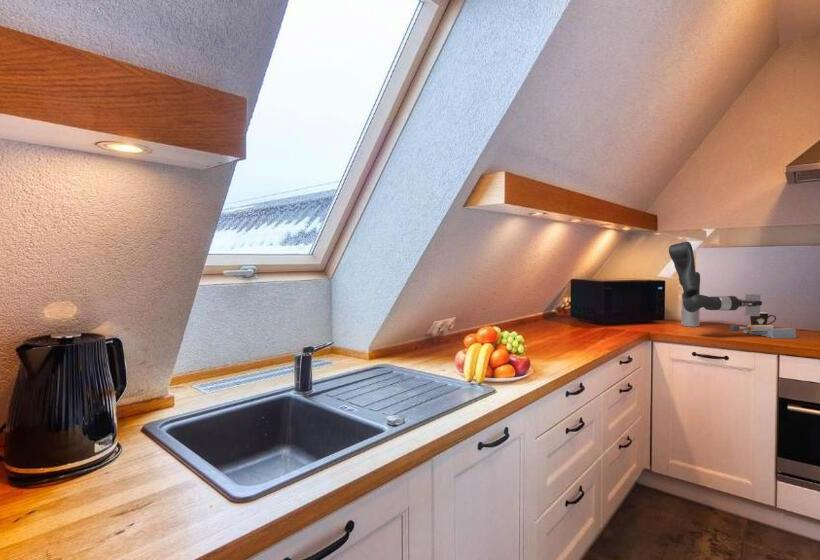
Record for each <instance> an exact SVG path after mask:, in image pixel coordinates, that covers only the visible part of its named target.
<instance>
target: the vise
mask: <svg viewBox="0 0 820 560" xmlns="http://www.w3.org/2000/svg"><path fill="white" fill-rule="evenodd" d="M742 332H744V334H747V333H749V334H748V335H753V334H754V335H753V336H758V335H761V336H760V337H763V336H766V337H765V338H769V337H771V338H770V339H796V338H797V335H796V332H797V331H796V328H790V327H785V328H783V327H782V328H780V327H779V328H774V329H768V331H748V330H742Z"/></svg>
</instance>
